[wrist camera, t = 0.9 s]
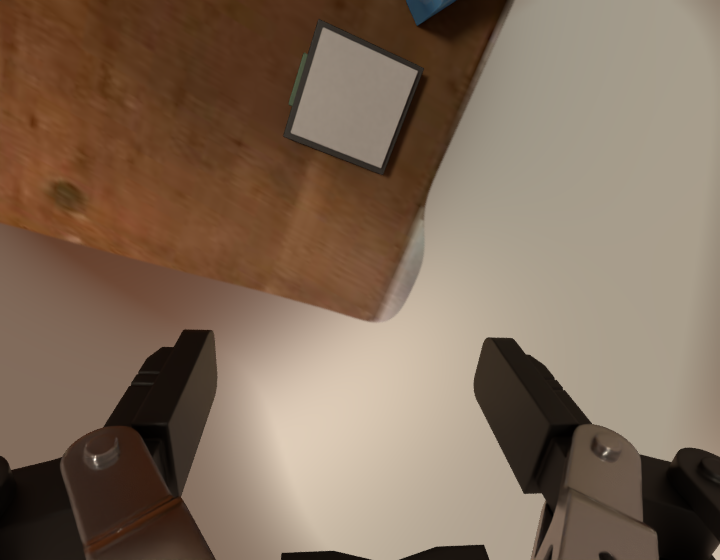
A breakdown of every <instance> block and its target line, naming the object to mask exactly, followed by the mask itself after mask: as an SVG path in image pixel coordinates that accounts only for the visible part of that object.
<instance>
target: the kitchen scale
mask: <svg viewBox="0 0 720 560" xmlns="http://www.w3.org/2000/svg"><path fill="white" fill-rule="evenodd" d="M423 70H424V68H422V67H420V66H418V65H416V64H414V63H412V62H410V61H408V60H405V59H403V58H401V57H399V56H397V55H395V54H393V53H390V52H388V51H386V50H384V49H382V48H380V47H378V46H376V45H373V44H371V43H369V42H367V41H365V40H363V39H361V38H358V37H356V36H354V35H352V34H350V33H348V32H346V31H344V30H341V29H339V28H337V27H335V26H333V25H331V24H329V23H326V22H324V21H322V20H320V19H319V20H318V22H317V26H316V29H315V32H314V36H313V39H312V42H311V46H310V49H309V52H308V54H306V53H303V57H302V60H301V64H300V67H299V70H298V74H297V77H296V80H295V84H294V87H293V90H292V94H291V97H290V100H289V105H290V106H292V109H291V112H290V115H289V119H288V122H287V125H286V129H285V132H284V135H283V137H285V138H288V139H291V140H293V141H296V142H298V143H301V144H303V145H306V146H309V147H311V148H314V149H316V150H319V151H322V152H324V153H327V154H329V155H332V156H334V157H337V158H340V159H342V160H345V161H347V162H350V163H353V164H355V165H358V166H360V167H363V168H365V169H368V170H371V171H373V172H376V173H378V174H381V175H383V174H384V171H385V168H386V166H387V163H388V161H389V158H390V155H391V153H392V150H393V148H394V145H395V143H396V140H397V137H398V135H399V132H400V130H401V127H402V124H403V122H404V119H405V117H406V114H407V111H408V109H409V106H410V104H411V101H412V98H413V96H414V93H415V91H416V88H417V85H418V83H419V80H420V78H421V75H422V72H423Z"/></svg>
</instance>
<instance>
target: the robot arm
mask: <svg viewBox="0 0 720 560" xmlns="http://www.w3.org/2000/svg"><path fill="white" fill-rule="evenodd" d="M215 352H216V351H215V340H214V333H213V331H212V330H183V332H182V333H181V335H180V337H179V339H178V341H177V342H176V344H175V346H174V347H162V348H160V349H159V350H158V351H156V352H155V353H154V354H152V355H151V356H149V357H148V358H147V359H146V361H145V362H144V364H143V365H142V367H141V369H140V370H139V372H138V374H137V375H136V377H135V378H134V380H133V381H132V383H131V386H129V387H128V389H127V391H126V392H125V394H124V395H123V397H122V398H121V400H120V402H119V403H118V405H117V406H116V408H115V409H114V411H113V413H112V414H111V416H110V417H109V419H108V420H107V422H106V424H105V425H104V427H103V428H100V429H97V430H94V431H92V432H90V433H88V434H86V435H84V436H83V437H81V438H80V439H78V440H77V441H75V442H74V443H73V444H72V445H71V446H70V447H69V448H68V449H67V450H66V452H65V453H64V455H63V457H61V458H58V459H55V460H51V461H47V462H43V463H39V464H35V465H30V466H26V467H22V468H18V469H14V470H11V469H10V466H9V464H8V462H7V460H6V459H5V458H3V457H2V456H0V560H216V559H215V557H214V556H213V554H212V552H211V550H210V548H209V546H208V545H207V543H206V541H205V539H204V537H203V535H202V534H201V532H200V530H199V528H198V526H197V524H196V523H195V521H194V519H193V517H192V515H191V514H190V512H189V510H188V508H187V506H186V504H185V503H184V501H183V500H182V498H181V495H182V492H183V489H184V486H185V483H186V480H187V477H188V474H189V471H190V469H191V466H192V463H193V460H194V457H195V454H196V450H197V448H198V445H199V442H200V439H201V436H202V433H203V430H204V427H205V424H206V421H207V418H208V415H209V412H210V409H211V406H212V403H213V400H214V397H215V393H216V387H217V364H216V353H215ZM474 393H475V397H476V399H477V402H478V404H479V405H480V407H481V409H482V411H483V413H484V415H485V417H486V419H487V421H488V423H489V425H490V427H491V429H492V431H493V433H494V435H495V437H496V439H497V441H498V443H499V445H500V447H501V449H502V451H503V453H504V455H505V457H506V459H507V461H508V463H509V465H510V467H511V469H512V471H513V473H514V475H515V477H516V479H517V481H518V482H519V485H520V486H521V489H522V491H523V493H524V494H529V493H530V494H532V493H533V494H534V493H542V494H543V496H544V498H545V499H546V501H545V503H544V505H543V508H542V511H541V516H540V520H539V525H538V529H537V534H536V538H535V543H534V547H533V551H532V556H531V560H715V558H714V557H713V556H712V553H713V552H714V551H715V550H716V548H717V547H718V545H719V544H720V457H718V456H716V455H714V454H712V453H709V452H707V451H704V450H701V449H696V448H683V449H680V450H679V451H678V452H677V454H676V456H675V457H674V459H673V461H672V462H669V461H664V460H660V459H656V458H652V457H648V456H644V455H640V454H639V453H638V451H637V450H636V449H635V447H634V446H633V445H632V444H631V443H630V442H628V440H627V439H625V438H624V437H623V436H621V435H619V434H618V433H616V432H614V431H612V430H610V429H608V428H605V427H603V426H599V425H594V424H592V423H591V422H590V421H589V419H588V418H587V417H586V416H585V414H584V413H583V412H582V411H581V410H580V408H579V407H578V406H577V405H576V403H575V402H574V401H573V400H572V398H571V397H570V396H569V395H568V394H567V392H566V391H565V390H563V387H562V386H561V385H560V384H559V382H558V381H557V380H555V379H554V377H553V375H552V374H551V373H550V371H549V370H548V369H547V368H546V366H545V365H543V364H542V363H541V362H539V361H538V360H536V359H535V358H533V357H532V356H531V355H526V354H525V353H524V352H523V350H522V349H521V348H520V346H519V345H518V344H517V342H516V341H515V340H514V339H513V338H486V339H485V341H484V343H483V346H482V350H481V354H480V357H479V361H478V365H477V369H476V373H475V377H474ZM281 560H370V559H366V558H362V557H357V556H353V555H349V554H345V553H341V552H336V551H319V552H294V553H282V554H281ZM400 560H489V557H488V555H487V552H486V549H485V547H484V545H466V546H443V547H434V548H431V549H429V550H426V551H423V552H420V553H417V554H414V555H411V556H408V557H406V558H403V559H400Z"/></svg>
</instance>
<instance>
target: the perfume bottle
mask: <svg viewBox="0 0 720 560" xmlns="http://www.w3.org/2000/svg"><path fill="white" fill-rule="evenodd" d="M455 1H456V0H406V2H407V5H408V7H409V9H410V11H411V14H412V16H413V18H414V20H415V23H416V25H417V26H418V25H419V24H421V23H423V22H424V21H426V20H427V19H429V18H430V17H432V16H433V15H435V14H436V13H438V12H440V11H441V10H443V9H444V8H446V7H447V6H449V5H450V4H452V3H453V2H455Z"/></svg>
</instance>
